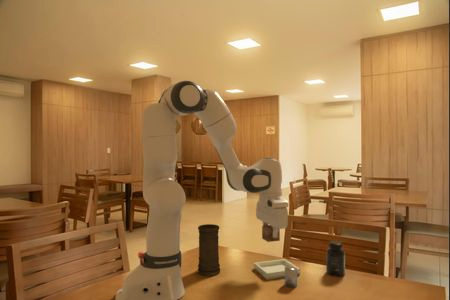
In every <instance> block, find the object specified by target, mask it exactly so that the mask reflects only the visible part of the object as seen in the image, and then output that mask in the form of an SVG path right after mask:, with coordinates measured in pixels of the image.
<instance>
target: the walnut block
mask: <svg viewBox="0 0 450 300" xmlns="http://www.w3.org/2000/svg"><path fill="white" fill-rule="evenodd" d="M261 227H262V228H261V236H262V240H264V241H266V242H267V243H270V242H271V243H272V242H279V241H280V240H281V239H280V238H281V237H280V235H281V234H280V233H281V232H280V230H281V229H279V231H278V233H277V238H273V237H272V232H273V226H271V225H269V224H268V225H266V226H263V225H262V226H261Z"/></svg>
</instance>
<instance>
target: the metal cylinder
mask: <svg viewBox="0 0 450 300" xmlns="http://www.w3.org/2000/svg"><path fill="white" fill-rule="evenodd" d="M296 267H297V266H296ZM296 267H293V266H287V267H285V277H284V287H286V288H290V289H291V288H293V289H294V288H297V287H298V275H297V268H296Z"/></svg>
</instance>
